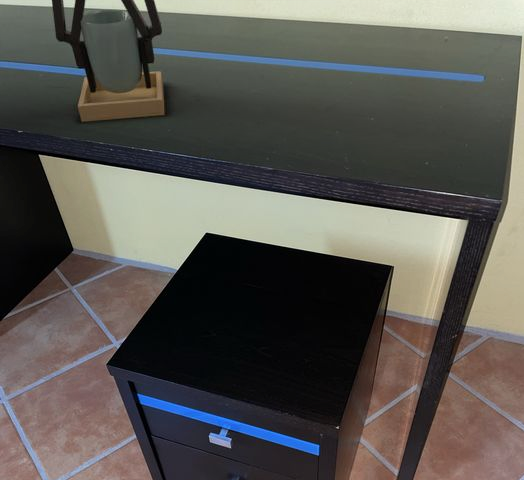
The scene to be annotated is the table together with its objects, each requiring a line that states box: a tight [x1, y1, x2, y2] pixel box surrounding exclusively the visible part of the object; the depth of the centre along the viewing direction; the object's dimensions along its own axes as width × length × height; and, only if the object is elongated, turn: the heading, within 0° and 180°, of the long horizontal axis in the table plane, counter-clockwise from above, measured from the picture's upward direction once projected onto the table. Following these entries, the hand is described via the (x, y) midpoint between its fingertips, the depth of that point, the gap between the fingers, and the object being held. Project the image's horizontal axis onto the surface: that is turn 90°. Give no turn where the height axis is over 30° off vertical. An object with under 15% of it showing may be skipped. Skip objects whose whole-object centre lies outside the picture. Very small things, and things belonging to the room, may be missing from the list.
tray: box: [77, 71, 166, 122], centre depth 84 cm, size 13×13×3 cm
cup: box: [81, 9, 143, 93], centre depth 79 cm, size 8×8×10 cm
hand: (121, 87), depth 83 cm, fingers closed on cup, 8 cm apart
